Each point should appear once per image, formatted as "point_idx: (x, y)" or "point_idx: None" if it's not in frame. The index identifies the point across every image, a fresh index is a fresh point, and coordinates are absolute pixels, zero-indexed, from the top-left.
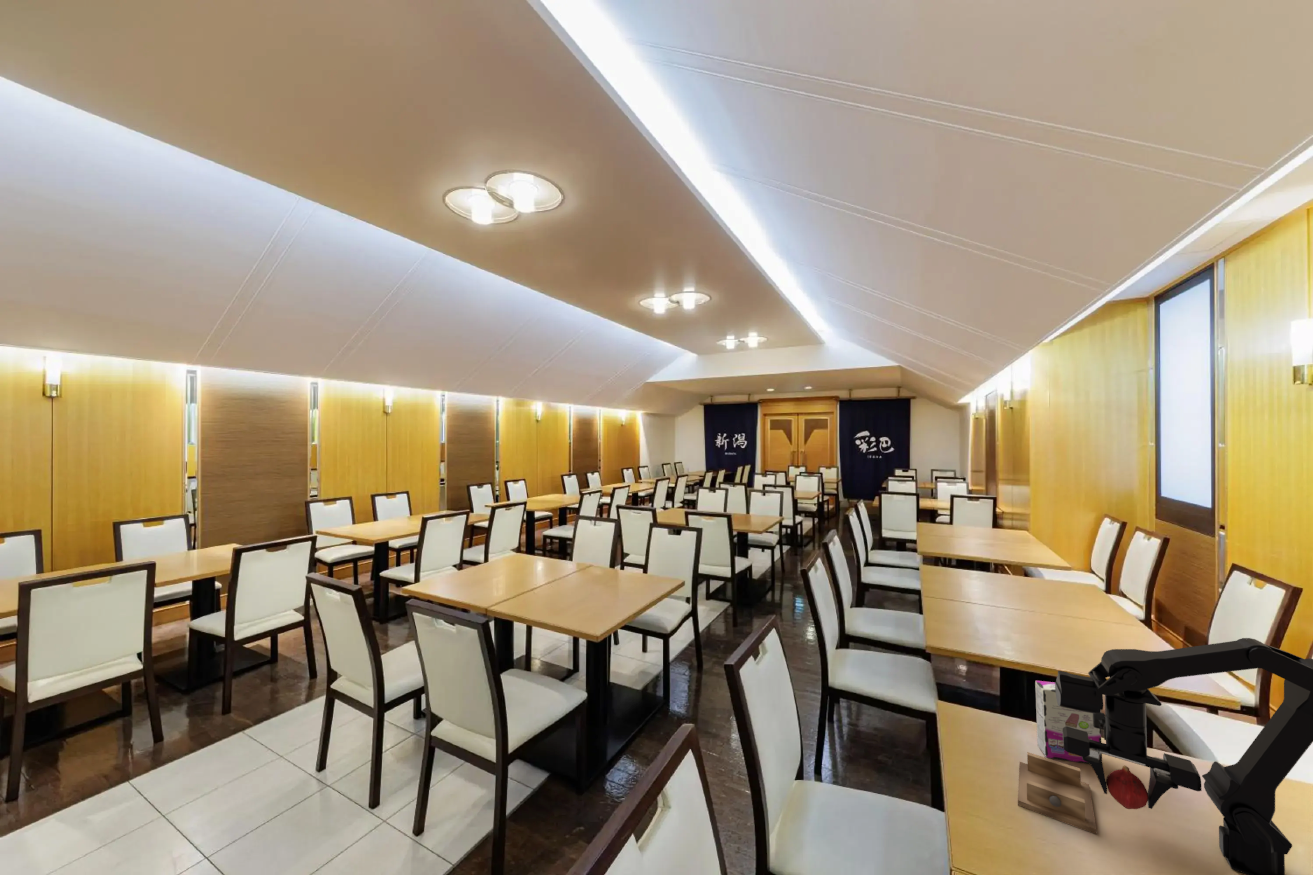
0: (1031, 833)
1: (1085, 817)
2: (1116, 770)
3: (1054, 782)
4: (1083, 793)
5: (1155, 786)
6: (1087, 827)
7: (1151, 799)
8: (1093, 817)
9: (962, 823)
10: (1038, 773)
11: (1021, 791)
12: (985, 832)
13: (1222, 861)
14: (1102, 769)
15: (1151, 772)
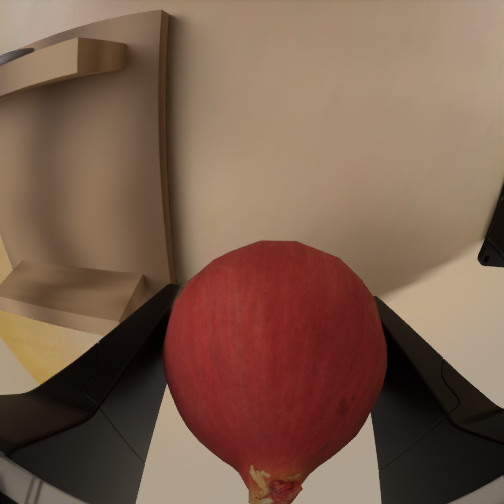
0: (79, 350)
1: (145, 273)
2: (210, 431)
3: (46, 112)
4: (131, 110)
5: (384, 486)
6: None
7: None
8: (165, 259)
9: (21, 359)
10: (9, 97)
11: (9, 245)
12: (44, 367)
13: (475, 236)
14: (135, 485)
15: (451, 472)
